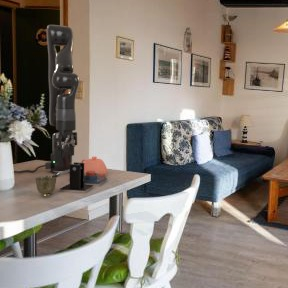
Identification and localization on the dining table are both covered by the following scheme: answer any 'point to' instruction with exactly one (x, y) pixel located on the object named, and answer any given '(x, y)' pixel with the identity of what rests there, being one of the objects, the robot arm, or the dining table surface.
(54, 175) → the switch lever
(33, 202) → the dining table surface
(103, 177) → the control box
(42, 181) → the cup
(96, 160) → the sugar bowl
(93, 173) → the button
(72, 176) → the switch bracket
